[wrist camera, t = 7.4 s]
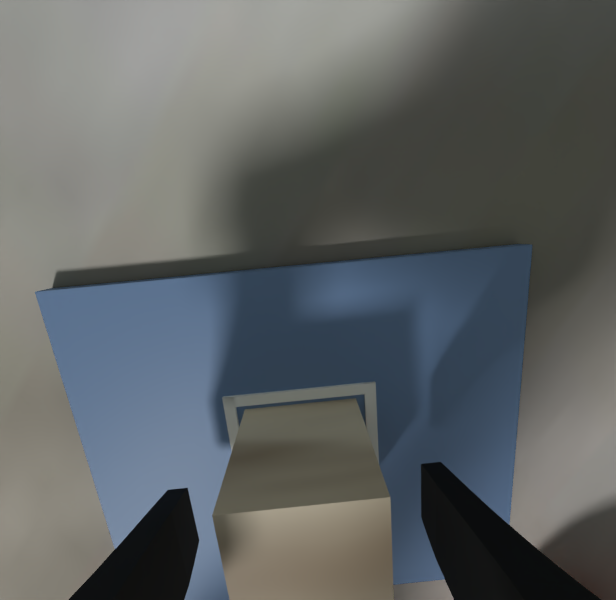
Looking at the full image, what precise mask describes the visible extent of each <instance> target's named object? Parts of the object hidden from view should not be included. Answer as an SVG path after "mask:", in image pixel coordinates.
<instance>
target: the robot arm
mask: <svg viewBox="0 0 616 600" xmlns="http://www.w3.org/2000/svg"><path fill="white" fill-rule="evenodd" d="M421 518H422V521H423V524H424V527H425V530H426V533H427V536H428V539H429V541H430V544H431V547H432V550H433V552H434V555H435V558H436V560H437V563H438V565H439V567H440V569H441V572H442V574H443V576H444V578H445V580H446V583H447V585H448V587H449V589H450V591H451V594H452V596H453V598H454V600H601V599H599V598H598V597H597V596H595V595H594V594H593V593H591V592H590V591H589V590H587V589H586V588H585V587H583V586H582V585H581V584H580V583H578V582H577V581H576V580H575V579H573V578H572V577H571V576H570V575H568V574H567V573H566V572H564V571H563V570H562V569H561V568H559V567H558V566H557V565H556V564H555V563H553V562H552V561H551V560H550V559H549V558H547V557H546V556H545V555H544V554H542V553H541V552H540V551H539V550H538V549H536V548H535V547H534V546H533V545H532V544H531V543H529V542H528V541H527V540H526V539H525V538H524V537H522V536H521V535H520V534H519V533H518V532H517V531H515V530H514V529H513V528H512V527H511V526H510V525H509V524H508V523H506V522H505V521H504V520H503V519H502V518H501V517H500V516H498V515H497V514H496V513H495V512H494V511H493V510H492V509H491V508H490V507H488V506H487V505H486V504H485V503H484V502H483V501H482V500H481V499H480V498H479V497H478V496H477V495H475V494H474V493H473V492H472V491H471V490H470V489H469V488H468V487H467V486H466V485H465V484H464V483H463V482H462V481H461V480H460V479H458V478H457V477H456V476H455V475H454V474H453V473H452V472H451V471H450V470H449V469H448V468H447V467H446V466H445V465H444V464H442V463H441V462H434V463H424V464H421ZM198 545H199V536H198V532H197V527H196V523H195V519H194V514H193V510H192V505H191V501H190V496H189V492H188V488H180V489H171V490H167V491H166V492H165V493H164V495H163V496H162V497H161V498H160V499H159V500H158V501H157V502H156V504H155V505H154V506H153V507H152V508H151V509H150V510H149V512H148V513H147V514H146V515H145V516H144V517H143V518H142V520H141V521H140V522H139V523H138V524H137V525H136V526H135V528H134V529H133V530H132V531H131V532H130V533H129V534H128V536H127V537H126V538H125V539H124V540H123V541H122V542H121V543H120V545H119V546H118V547H117V548H116V549H115V550H114V551H113V552H112V553H111V555H110V556H109V557H108V558H107V559H106V560H105V561H104V562H103V563H102V565H101V566H100V567H99V568H98V569H97V570H96V571H95V572H94V573H93V574H92V575H91V577H90V578H89V579H88V580H87V581H86V582H85V583H84V584H83V585H82V586H81V587H80V588H79V589H78V590H77V591H76V592H75V593H74V594H73V595H72V597H71V598H70V599H69V600H184V599H185V596H186V593H187V590H188V587H189V583H190V579H191V575H192V571H193V567H194V563H195V558H196V554H197V549H198Z"/></svg>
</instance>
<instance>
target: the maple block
mask: <svg viewBox="0 0 616 600" xmlns="http://www.w3.org/2000/svg"><path fill="white" fill-rule="evenodd" d="M212 518H213V522H214V527H215V532H216V537H217V542H218V547H219V551H220V556H221V561H222V566H223V571H224V575H225V580H226V585H227V590H228V595H229V600H394V590H393V560H392V530H391V500H390V495H389V492H388V489H387V486H386V483H385V480H384V477H383V474H382V472H381V469H380V466H379V463H378V460H377V457H376V454H375V451H374V449H373V446H372V443H371V440H370V437H369V434H368V431H367V429H366V426H365V423H364V420H363V417H362V414H361V411H360V408H359V406H358V403H357V400H356V398H353V399H343V400H333V401H323V402H313V403H303V404H293V405H283V406H273V407H263V408H253V409H245V410H244V414H243V417H242V420H241V423H240V427H239V430H238V433H237V436H236V440H235V443H234V446H233V449H232V453H231V456H230V459H229V462H228V466H227V469H226V472H225V475H224V479H223V482H222V485H221V488H220V492H219V495H218V498H217V501H216V505H215V508H214V511H213V514H212Z"/></svg>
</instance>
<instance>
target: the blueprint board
mask: <svg viewBox="0 0 616 600" xmlns="http://www.w3.org/2000/svg"><path fill="white" fill-rule="evenodd" d="M531 256H532V245H530V244H513V245H503V246H492V247H482V248H471V249H461V250H450V251H440V252H429V253H419V254H408V255H398V256H387V257H377V258H366V259H355V260H345V261H334V262H324V263H313V264H303V265H292V266H282V267H271V268H261V269H250V270H240V271H229V272H219V273H208V274H197V275H187V276H176V277H166V278H155V279H145V280H134V281H124V282H113V283H103V284H92V285H82V286H71V287H61V288H50V289H46V290H41V291H37V292H35V294H36V297H37V300H38V303H39V307H40V310H41V313H42V316H43V320H44V323H45V326H46V329H47V332H48V336H49V339H50V342H51V345H52V348H53V352H54V355H55V358H56V361H57V365H58V368H59V371H60V374H61V377H62V381H63V384H64V387H65V390H66V393H67V397H68V400H69V403H70V406H71V410H72V413H73V416H74V419H75V422H76V426H77V429H78V432H79V435H80V438H81V442H82V445H83V448H84V451H85V455H86V458H87V461H88V464H89V467H90V471H91V474H92V477H93V480H94V483H95V487H96V490H97V493H98V496H99V500H100V503H101V506H102V509H103V512H104V516H105V519H106V522H107V525H108V528H109V532H110V535H111V538H112V541H113V545H114V548H115V549H116V548H117V547H118V546H119V545H120V543H121V542H122V541H123V540H124V539H125V538H126V537H127V536H128V534H129V533H130V532H131V531H132V530H133V529H134V528H135V526H136V525H137V524H138V523H139V522H140V521H141V520H142V518H143V517H144V516H145V515H146V514H147V513H148V512H149V510H150V509H151V508H152V507H153V506H154V505H155V504H156V502H157V501H158V500H159V499H160V498H161V497H162V496H163V495H164V493H165V492H166V491H167V490H171V489H180V488H188V492H189V496H190V501H191V505H192V510H193V514H194V519H195V523H196V527H197V532H198V536H199V545H198V549H197V554H196V558H195V563H194V567H193V571H192V575H191V579H190V583H189V587H188V590H187V593H186V596H185V599H184V600H229V595H228V590H227V585H226V580H225V575H224V571H223V566H222V561H221V556H220V551H219V547H218V542H217V537H216V532H215V527H214V522H213V518H212V514H213V511H214V508H215V505H216V501H217V498H218V495H219V492H220V488H221V485H222V482H223V479H224V475H225V472H226V469H227V466H228V462H229V459H230V456H231V453H232V449H233V446H234V443H235V440H236V436H237V433H238V430H239V427H240V423H241V420H242V417H243V414H244V410H245V409H253V408H263V407H273V406H283V405H293V404H303V403H313V402H323V401H333V400H343V399H353V398H356V400H357V403H358V406H359V408H360V411H361V414H362V417H363V420H364V423H365V426H366V429H367V431H368V434H369V437H370V440H371V443H372V446H373V449H374V451H375V454H376V457H377V460H378V463H379V466H380V469H381V472H382V474H383V477H384V480H385V483H386V486H387V489H388V492H389V495H390V500H391V530H392V560H393V585H396V584H405V583H414V582H424V581H433V580H443V579H445V578H444V576H443V574H442V572H441V569H440V567H439V565H438V563H437V560H436V558H435V555H434V552H433V550H432V547H431V544H430V541H429V539H428V536H427V533H426V530H425V527H424V524H423V521H422V518H421V464H424V463H434V462H441V463H442V464H444V465H445V466H446V467H447V468H448V469H449V470H450V471H451V472H452V473H453V474H454V475H455V476H456V477H457V478H458V479H460V480H461V481H462V482H463V483H464V484H465V485H466V486H467V487H468V488H469V489H470V490H471V491H472V492H473V493H474V494H475V495H477V496H478V497H479V498H480V499H481V500H482V501H483V502H484V503H485V504H486V505H487V506H488V507H490V508H491V509H492V510H493V511H494V512H495V513H496V514H497V515H498V516H500V517H501V518H502V519H503V520H504V521H505V522H506V523H508V524H509V522H510V510H511V498H512V486H513V474H514V462H515V450H516V438H517V426H518V414H519V401H520V389H521V377H522V365H523V353H524V341H525V329H526V317H527V305H528V293H529V281H530V268H531Z"/></svg>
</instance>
